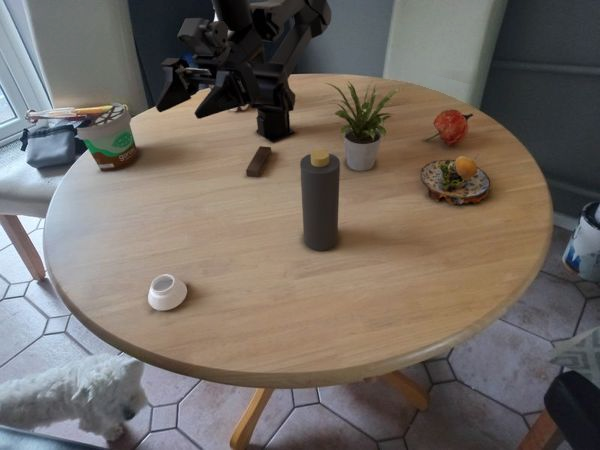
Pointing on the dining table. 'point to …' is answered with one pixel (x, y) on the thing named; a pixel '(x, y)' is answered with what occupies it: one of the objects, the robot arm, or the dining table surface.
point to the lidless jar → (166, 292)
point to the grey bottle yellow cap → (320, 199)
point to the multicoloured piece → (455, 180)
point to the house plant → (363, 129)
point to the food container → (110, 139)
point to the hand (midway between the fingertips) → (176, 112)
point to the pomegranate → (451, 126)
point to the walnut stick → (258, 161)
